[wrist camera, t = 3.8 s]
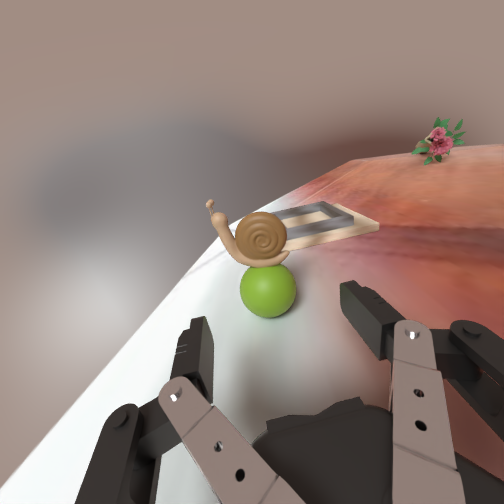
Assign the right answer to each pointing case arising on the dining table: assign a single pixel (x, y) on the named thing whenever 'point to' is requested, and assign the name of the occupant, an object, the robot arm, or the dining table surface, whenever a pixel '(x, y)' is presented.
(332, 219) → the board
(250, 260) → the snail figurine
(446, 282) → the dining table surface
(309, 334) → the dining table surface
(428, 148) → the flower vase
